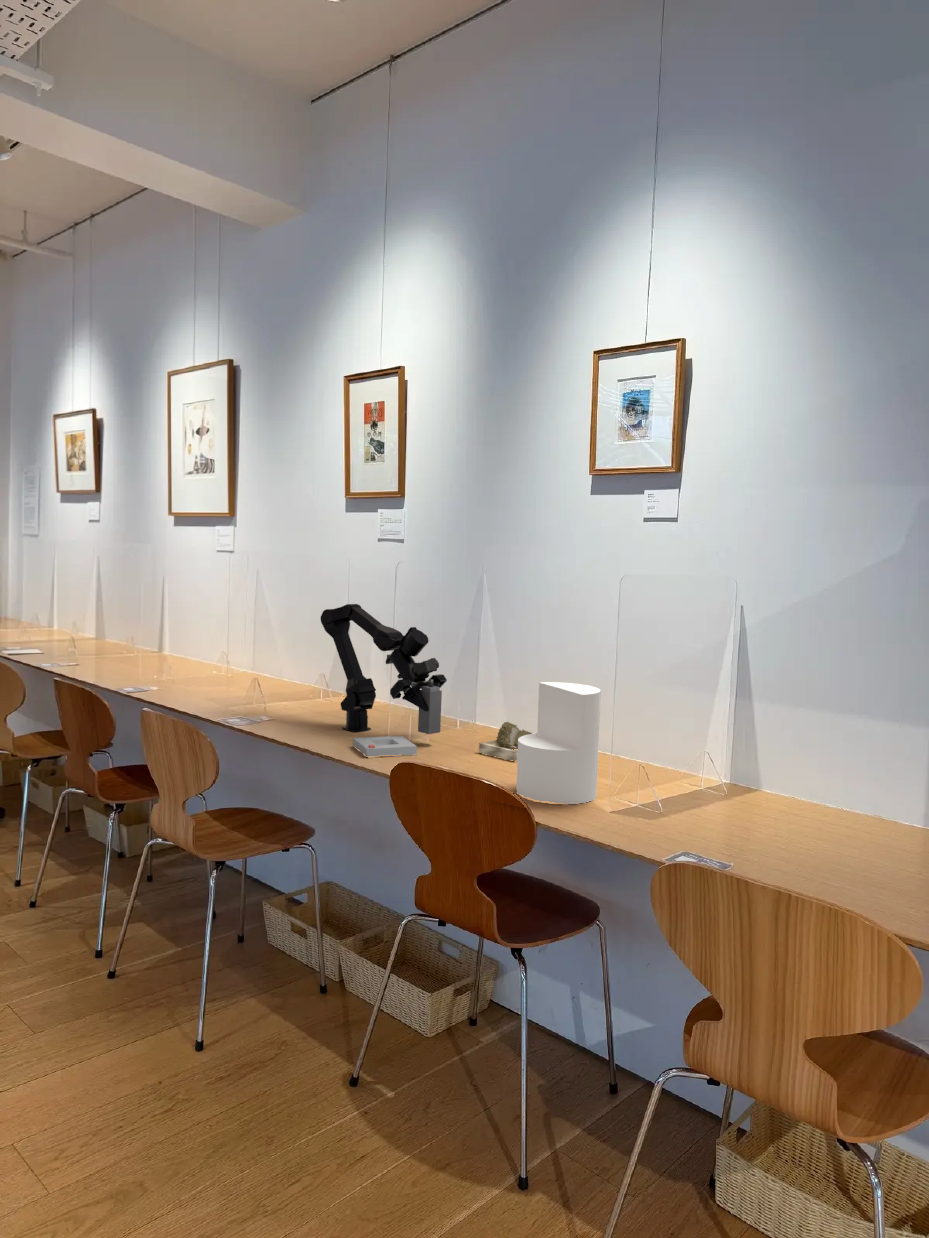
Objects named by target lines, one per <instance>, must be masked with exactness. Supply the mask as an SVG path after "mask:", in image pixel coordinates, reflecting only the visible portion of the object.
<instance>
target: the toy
mask: <svg viewBox="0 0 929 1238" xmlns="http://www.w3.org/2000/svg"><path fill="white" fill-rule="evenodd" d="M529 734H534V733H532V732H530V731H527V730H526V729H525V730H524V729H519V727H518V725H517V724H515V723H511V722H509V721H504V722H503V723H502V725H501V727H500V728H498V732H497V736H496V740H498V745H499V744H500V743H501V744H502V745H503V748H507V747H508V746H515V747H516V748H517V749H518V738H520V737H521V736H524V735H529Z"/></svg>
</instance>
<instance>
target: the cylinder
mask: <svg viewBox="0 0 929 1238" xmlns="http://www.w3.org/2000/svg"><path fill="white" fill-rule="evenodd" d="M601 692H602V690H601V689H600V688H598V687H596V686H594V685H588V684H581V683H575V682H574V683H573V682H563V681H562V682H561V681H560V682H559V681H558V682H556V681H549V682H548V681H541V682H539V683H538V700H537V701H538V703H537V705H538V706H537V708H538V709H537V711H538V712H537V733H533V734H529V735H524V736H521V737H520V738H518V760H517V762H516V763H517V765H516V768H517V769H516V790H517V792H516V793H518V794H521V795H523V796H524V797H529V798H531V799H534V800H539V801H549V802H555V803H564V804H566V803H567V804H577V803H578V805H580V804H579V803H584V804H587V803H586V802H588V803H590V802H589V801H591V802H593V801H595V800H594V799H597V790H598V770H599V769H598V766H599V765H598V764H599V746H600V745H599V741H600V721H601V720H600V718H601V717H600V716H601Z"/></svg>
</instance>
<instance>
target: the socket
mask: <svg viewBox="0 0 929 1238" xmlns="http://www.w3.org/2000/svg"><path fill="white" fill-rule="evenodd" d="M352 740H353V742H352V743H353V744H352V746H355V747H356V748H357V749H359V750H360V751H361V752H362V753H364V754H365V755H366V756H379V755H399V754H401V755H413V754H417V753H418V751H417V749H418V746H417V745H416V744H414V743H413V742H411V741H410V740H408V739H407V738H405V737H404V736H402V735H388V736H387V735H386V736H385V735H384V736H367V737H366V736H365V737H354V738H353V739H352ZM413 756H414V755H413Z"/></svg>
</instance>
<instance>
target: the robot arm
mask: <svg viewBox="0 0 929 1238" xmlns="http://www.w3.org/2000/svg"><path fill="white" fill-rule="evenodd" d="M351 622H354V623H355V625H357V626H358V627H359V628H361V629H362V630H363V631H364V632H366V633H367V634H368V635H369V636H370V637H371V639H372V641H373V643H374V644H375V646H376V647H377V649H379V650H380V651H381V652H390V651H392V652H391V653H389V654H387V655H386V659H385V665H389V664H390V665H391V664H392V665H393V666H394V668H395V669H396V671H397V672H398V674H397V681H396V682H395V683H394V684H393V686H392V687H391V688H390V689H389V694H390V696H391V698H392V699H393V700H395V699H400V698H401V697H402V698H401V699H402V700H403V701H404V700H405V701H406V702H408V703H410V704H412V705H413V706H416V707H418V709H419V708H421V709H422V710H424V711H426V712H427V711H428V710H429V709H428V706H427V704H426V702H425V701H424V699H423V697H422V695H421V693H420V690H422V686H428V680H427V678H429V677H430V678H429V679H432V680H433V686H437V687H440V689H441V688H442V687H443V686H444V685H445V683H447V680H448V679H447V678H446V676H445V675H444V674H441V673H440V674H433V675H432V676H430V674H431V673H433V672H437V671H438V669H439V668H440V663H439V661H438V660H437V659H436V658H435V657H431V658H429V659H427V660H423V661H421V662H416V661H415V659H414V658H415V657H417V656H418V655H419V654H420V653H421V652H422V651H423V649H424V648H425V647H426V646H427V644H429V642H430V641H429V637H428V636H427V634H425V633H424V632H423V631H421V630H419V629H418V628H417V627H416V626H412V627H410V628H408V629H407V632H406V633H405V635H403V633H402V632H401V631H399V630H397V629H395V628H394V627H390V626H387V625H385V624H383V623H381V622H380V621H379V620H377V619H376V618H375V617H373V615H371V614H370V613H368V612H367V611H366V610H365V609H364V608H362V606H361V605H360V604H359V603H348V604H345V605H342V606H339V607H336V608H327V609H324V610H323V611H322V613H321V615H320V623H321V625H322V627H323V629H324V631H325V632H326V634H328V636H330V637H331V638H332V640H333V642H334V644H335V645H334V646H335V647H336V651H337V654H338V657H339V659H340V663H341V665H342V668H343V671H344V675H345V678H346V680H347V681H346V687H345V693H346V696H345V697H344V699H343V700H342V701H341V702H340V709H341V711H344V712H346V715H345V716H346V719H345V721H346V723H345V724H346V726H342V728H341V729H343V730H345V729H348V730H347V731H349V730H351V731H350V732H353V731H354V732H353V733H357V732H364V731H369V730H368V729H370V730H372V728H371V727H369V726H368V724H369V721H368V720H369V718H368V717H369V715H368V710H372V709H373V706H374V703H375V700H376V698H377V697H376V696H377V695H376V694H377V693H376V691H377V689H376V687H375V686H374V682H373V679H372V678H367V677H365V675H364V674H363V672H362V671H363V670H362V669H361V665H360V663H359V660H358V657H357V654H356V651H355V649H354V646H353V643H352V640H351V637H350V634H349V631H350V628H351ZM413 657H414V658H413ZM401 692H403V696H402V693H401ZM363 730H364V731H363Z"/></svg>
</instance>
